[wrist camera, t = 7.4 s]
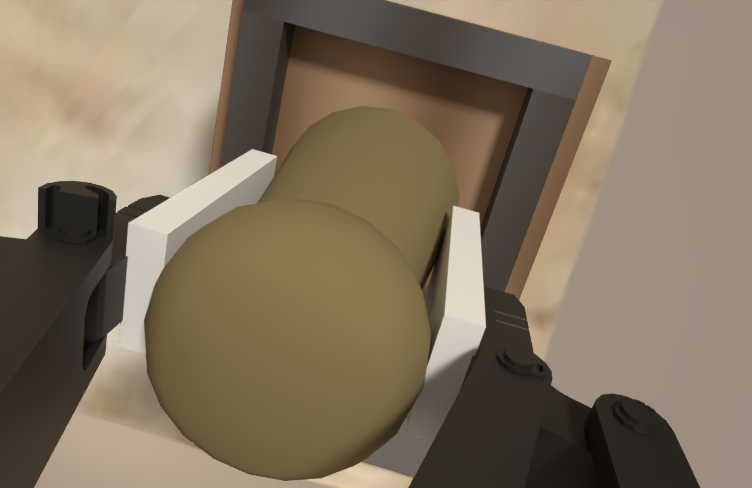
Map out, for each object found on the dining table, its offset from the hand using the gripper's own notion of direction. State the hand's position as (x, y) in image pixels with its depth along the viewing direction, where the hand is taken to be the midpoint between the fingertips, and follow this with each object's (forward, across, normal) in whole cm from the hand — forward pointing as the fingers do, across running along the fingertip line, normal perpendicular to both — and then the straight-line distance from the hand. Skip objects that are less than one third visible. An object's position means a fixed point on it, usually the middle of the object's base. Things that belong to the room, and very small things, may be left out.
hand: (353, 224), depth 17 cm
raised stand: (+17, 0, 0) cm, 17 cm away
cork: (+3, 0, 0) cm, 3 cm away
